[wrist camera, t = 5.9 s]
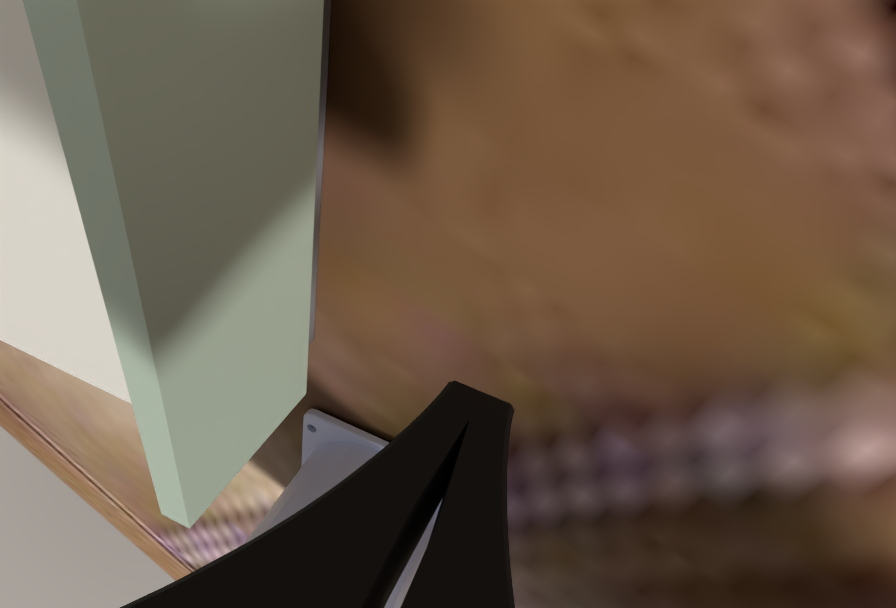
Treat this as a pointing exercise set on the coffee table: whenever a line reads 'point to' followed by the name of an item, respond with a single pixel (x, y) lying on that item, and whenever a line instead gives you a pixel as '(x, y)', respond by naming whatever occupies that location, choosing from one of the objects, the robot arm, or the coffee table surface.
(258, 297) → the lid
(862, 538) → the coffee table surface
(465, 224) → the coffee table surface
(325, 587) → the robot arm
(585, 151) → the coffee table surface
